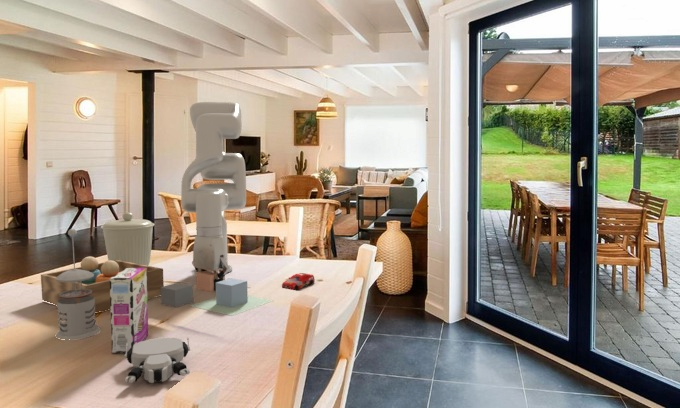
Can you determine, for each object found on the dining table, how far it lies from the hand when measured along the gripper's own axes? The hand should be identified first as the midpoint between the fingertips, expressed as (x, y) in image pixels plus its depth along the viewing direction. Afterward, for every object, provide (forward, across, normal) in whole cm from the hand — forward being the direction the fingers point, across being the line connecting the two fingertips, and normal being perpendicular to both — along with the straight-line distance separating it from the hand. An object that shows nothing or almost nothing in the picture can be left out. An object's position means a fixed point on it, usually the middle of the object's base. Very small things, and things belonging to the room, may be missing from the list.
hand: (211, 289), depth 159 cm
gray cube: (+1, +4, -16) cm, 17 cm away
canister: (+1, -48, +5) cm, 48 cm away
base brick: (-1, +17, -8) cm, 19 cm away
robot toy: (+1, +35, -46) cm, 58 cm away
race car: (+1, +18, +20) cm, 27 cm away
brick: (+1, 0, 0) cm, 1 cm away
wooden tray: (+1, -21, -22) cm, 30 cm away
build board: (+1, +17, -8) cm, 19 cm away
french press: (+1, 0, -42) cm, 42 cm away
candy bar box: (+1, +18, -40) cm, 44 cm away
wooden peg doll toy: (+1, -21, -20) cm, 29 cm away
